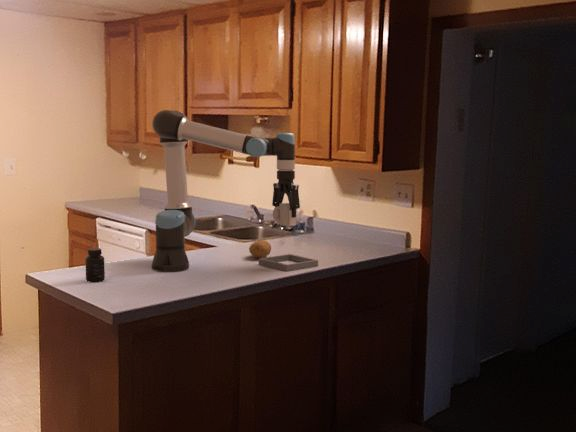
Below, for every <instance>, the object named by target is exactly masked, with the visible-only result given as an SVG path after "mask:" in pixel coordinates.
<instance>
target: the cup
mask: <svg viewBox="0 0 576 432" xmlns="http://www.w3.org/2000/svg"><path fill="white" fill-rule="evenodd" d="M296 206H297V205H296ZM293 207H294V206H293ZM290 209H291V208H290V204H289V202H285V203H284V202H282V203H281V204H279V206H277V207H275V206H274V208H273V211H272V218H273V220H274V221H275V222H279V223H278V224H279V225H280V226H282V227H294V226H296V225H297V216H296V217H295V225H292V226H290V225H289V210H290ZM278 210H279V218H277V211H278ZM297 210H298V209H296V212H298V211H297Z"/></svg>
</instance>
